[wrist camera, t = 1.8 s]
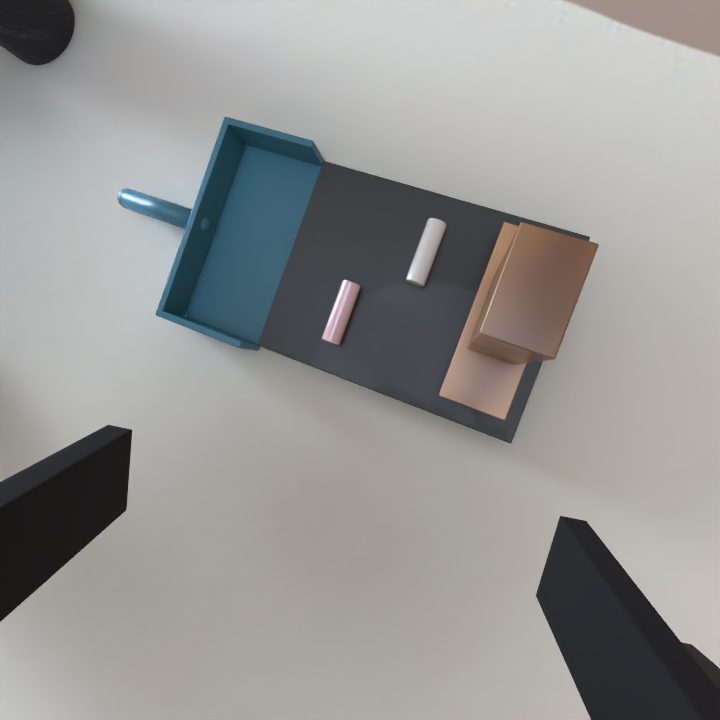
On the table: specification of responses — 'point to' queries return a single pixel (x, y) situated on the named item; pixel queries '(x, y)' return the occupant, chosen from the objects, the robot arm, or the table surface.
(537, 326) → the wooden block on base
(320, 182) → the chalkboard
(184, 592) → the table surface
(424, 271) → the chalk
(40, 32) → the travel mug
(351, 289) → the chalk
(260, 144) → the dustpan
